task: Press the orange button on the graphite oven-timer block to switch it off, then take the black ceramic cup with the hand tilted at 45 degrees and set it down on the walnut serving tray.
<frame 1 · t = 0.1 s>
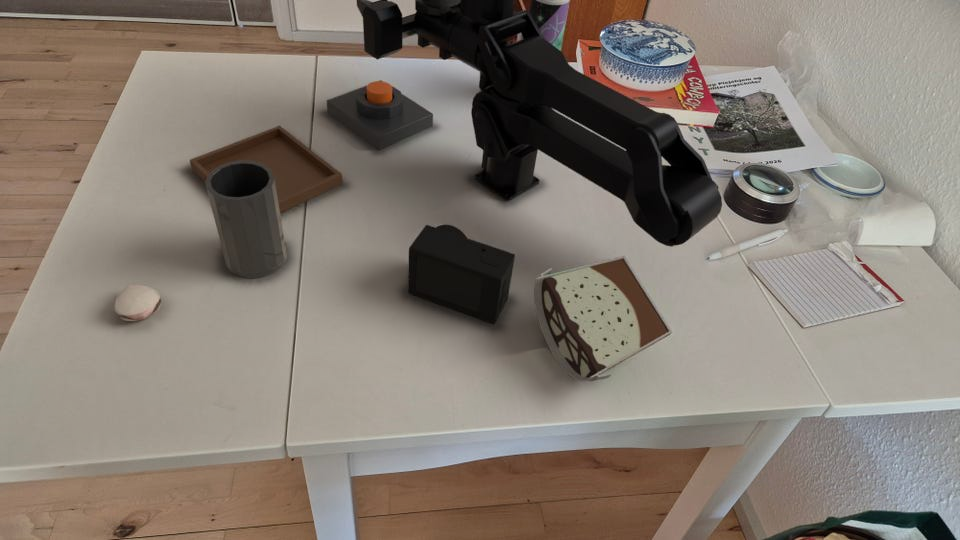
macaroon: (139, 309, 69), on the table
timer: (380, 120, 98), on the table
timer button: (379, 93, 95), point 4 cm above the table, slide at 0.1 cm
tray: (267, 177, 86), on the table
food container: (639, 305, 70), point 4 cm above the table
digital camera: (460, 294, 75), on the table
spray can: (534, 101, 106), on the table
cup: (256, 257, 76), on the table
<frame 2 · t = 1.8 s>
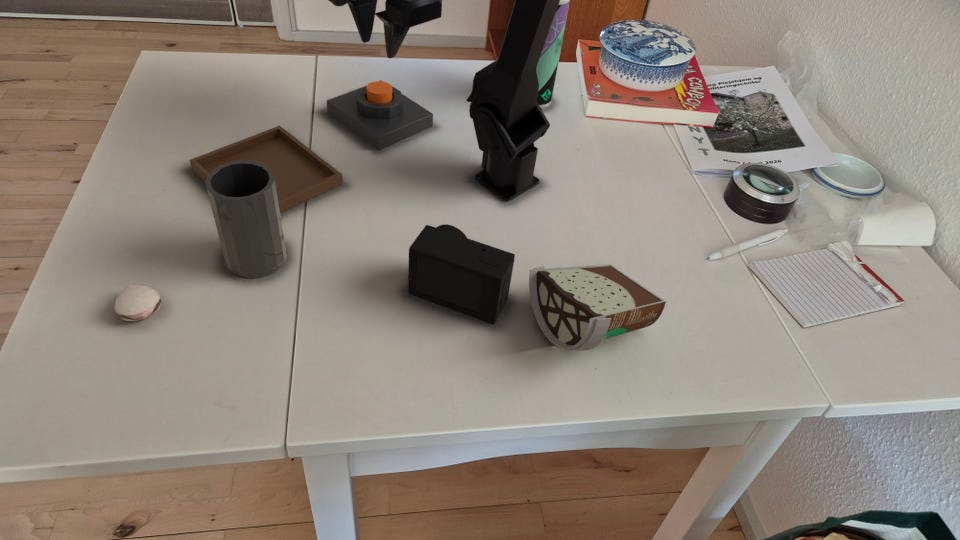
hand: (378, 49, 90), 11 cm above the table, tool pointing down, fingers open, 5 cm apart
food container: (632, 307, 72), point 2 cm above the table
everything else where it was.
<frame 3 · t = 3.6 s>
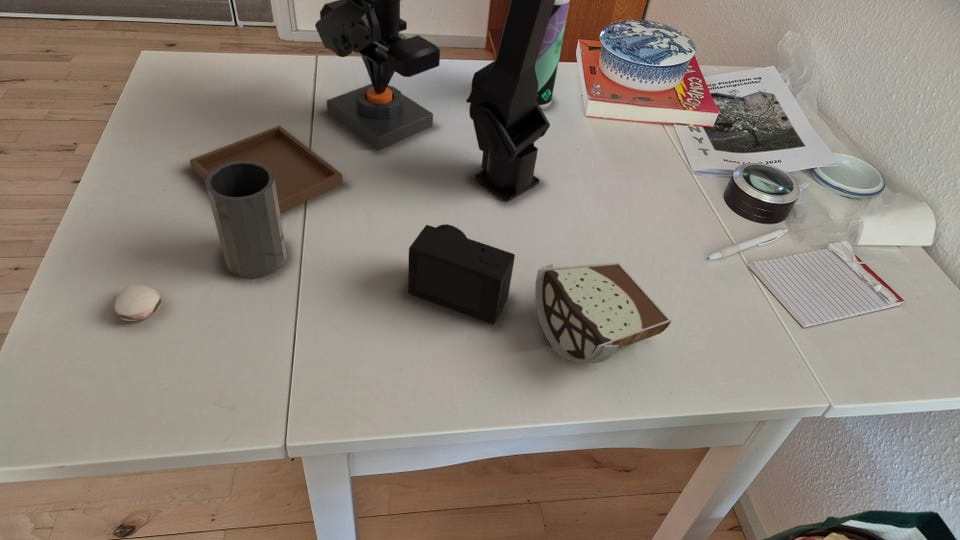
hand: (379, 92, 95), 5 cm above the table, tool pointing down, fingers closed, pressing on timer button
timer button: (379, 97, 95), point 4 cm above the table, slide at -0.7 cm, touching gripper
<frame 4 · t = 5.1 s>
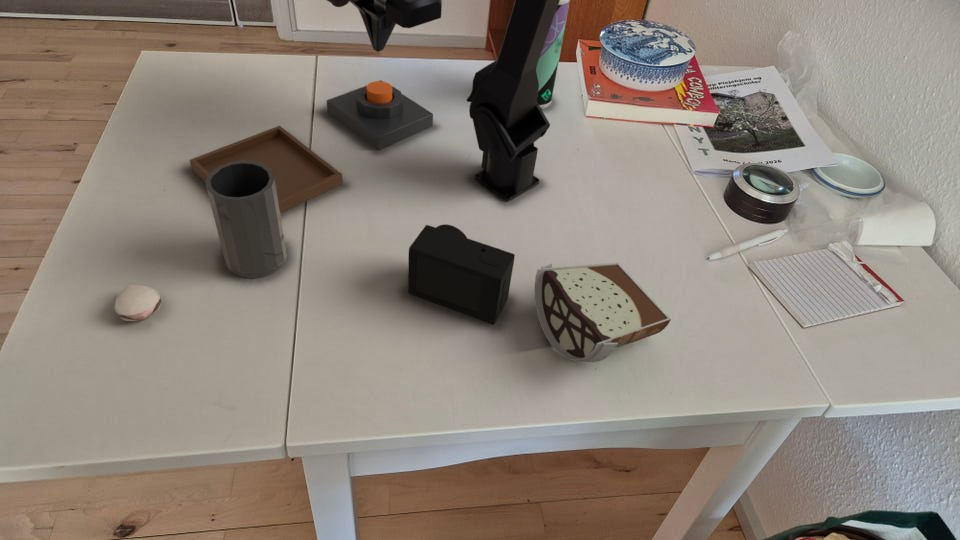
hand: (378, 50, 90), 11 cm above the table, tool pointing down, fingers closed
timer button: (379, 93, 95), point 4 cm above the table, slide at 0.1 cm
everything else where it was.
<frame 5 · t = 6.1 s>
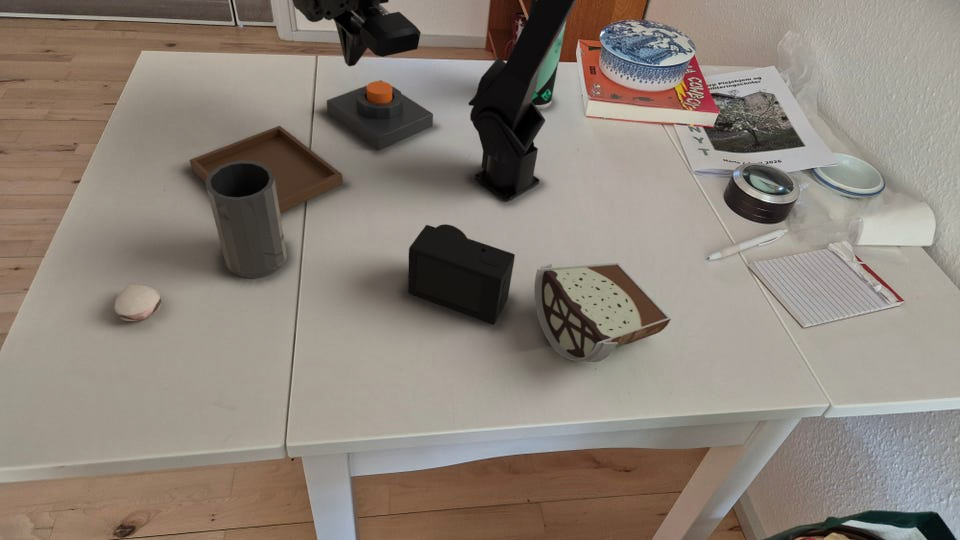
hand: (350, 64, 87), 11 cm above the table, tool pointing down, fingers closed
nothing on the table moved.
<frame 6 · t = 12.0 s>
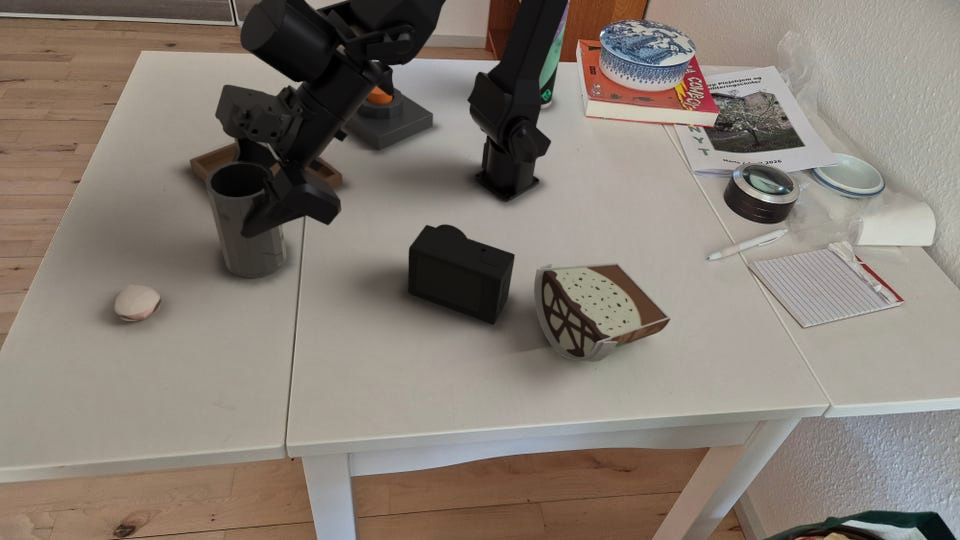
hand: (233, 216, 70), 7 cm above the table, tool tilted 45°, fingers closed on cup, 7 cm apart
cup: (256, 257, 76), on the table, touching gripper
everything else where it was.
when the fingers open (7 cm above the table, at t = 17.5 s): cup stays where it is, resting on tray.
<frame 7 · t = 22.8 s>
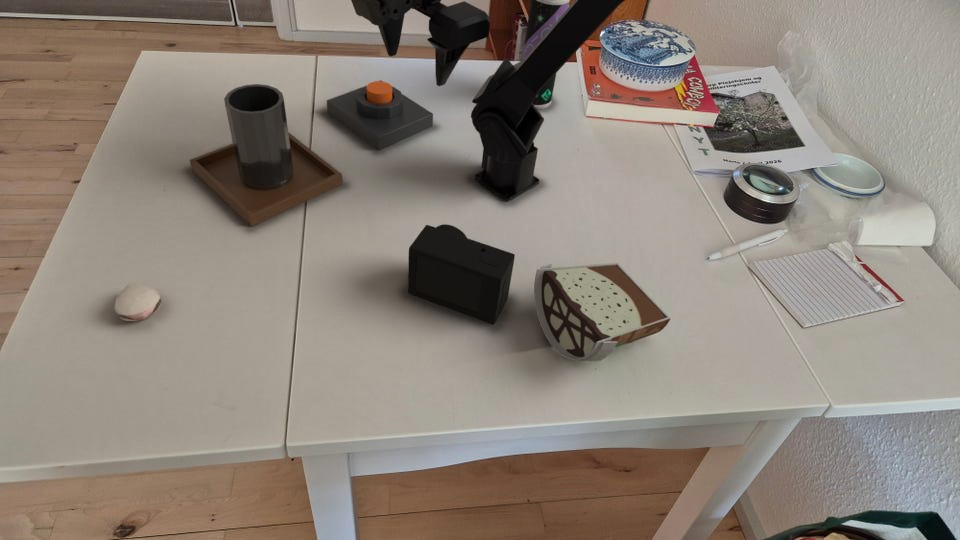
hand: (415, 69, 83), 13 cm above the table, tool pointing down, fingers open, 9 cm apart
cup: (267, 174, 86), resting on tray
everything else where it was.
at the end: timer button pushed in 1.1 cm at the most during the clip, back to where it started at the end; cup inside the target area in the tray (0.0 cm from its centre), point 0.5 cm above the tray's base; cup tilted 0° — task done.
